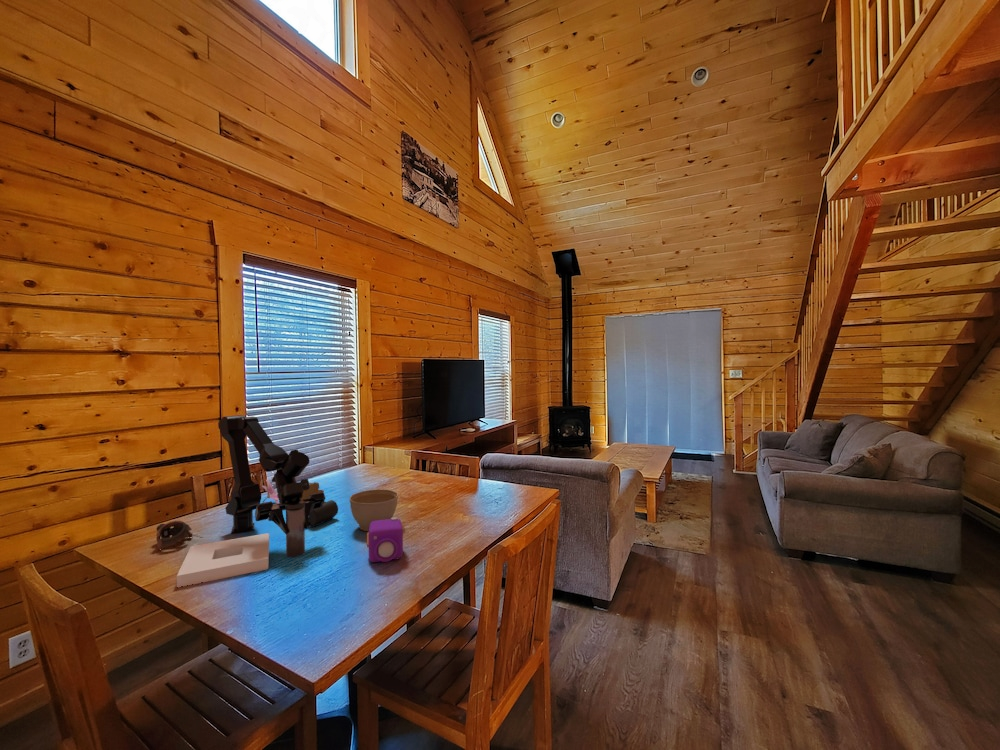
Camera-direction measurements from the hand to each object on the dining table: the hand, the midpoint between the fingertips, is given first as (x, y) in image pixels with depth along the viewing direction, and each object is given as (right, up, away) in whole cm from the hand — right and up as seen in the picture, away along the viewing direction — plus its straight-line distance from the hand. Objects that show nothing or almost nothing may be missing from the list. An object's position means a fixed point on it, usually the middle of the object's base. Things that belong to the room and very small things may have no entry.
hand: (296, 531), depth 121 cm
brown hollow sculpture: (-43, -7, +8) cm, 45 cm away
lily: (-33, -7, +46) cm, 57 cm away
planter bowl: (+16, -7, +22) cm, 28 cm away
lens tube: (-1, -7, +1) cm, 7 cm away
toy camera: (+27, -7, -2) cm, 28 cm away
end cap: (-5, -7, +26) cm, 28 cm away
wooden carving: (-16, -7, +42) cm, 45 cm away
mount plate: (-17, -7, -4) cm, 19 cm away
